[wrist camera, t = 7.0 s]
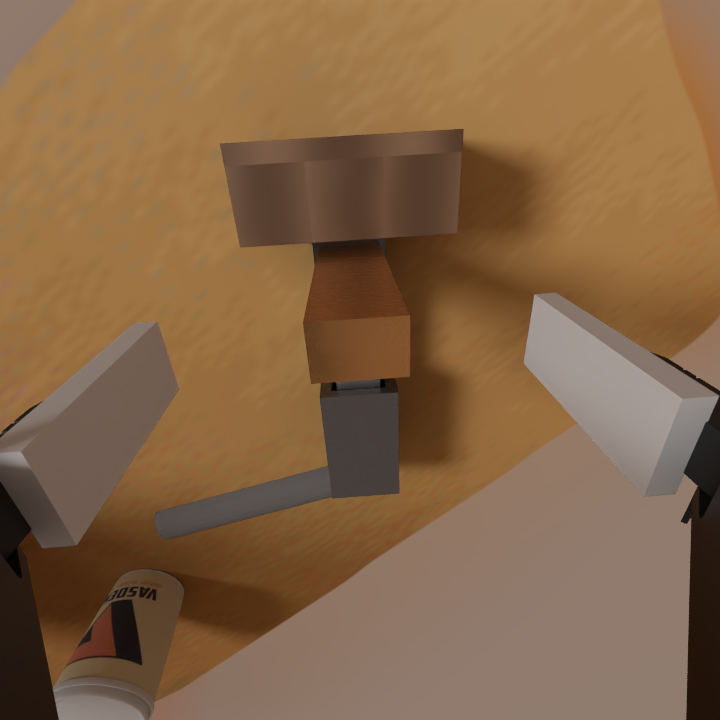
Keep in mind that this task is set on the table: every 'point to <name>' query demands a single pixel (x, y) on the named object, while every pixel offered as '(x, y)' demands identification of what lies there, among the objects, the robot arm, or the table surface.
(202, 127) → the table surface
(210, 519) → the half round rod
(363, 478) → the dark grey block
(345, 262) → the sliding bar
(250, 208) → the walnut socket
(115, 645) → the coffee cup
